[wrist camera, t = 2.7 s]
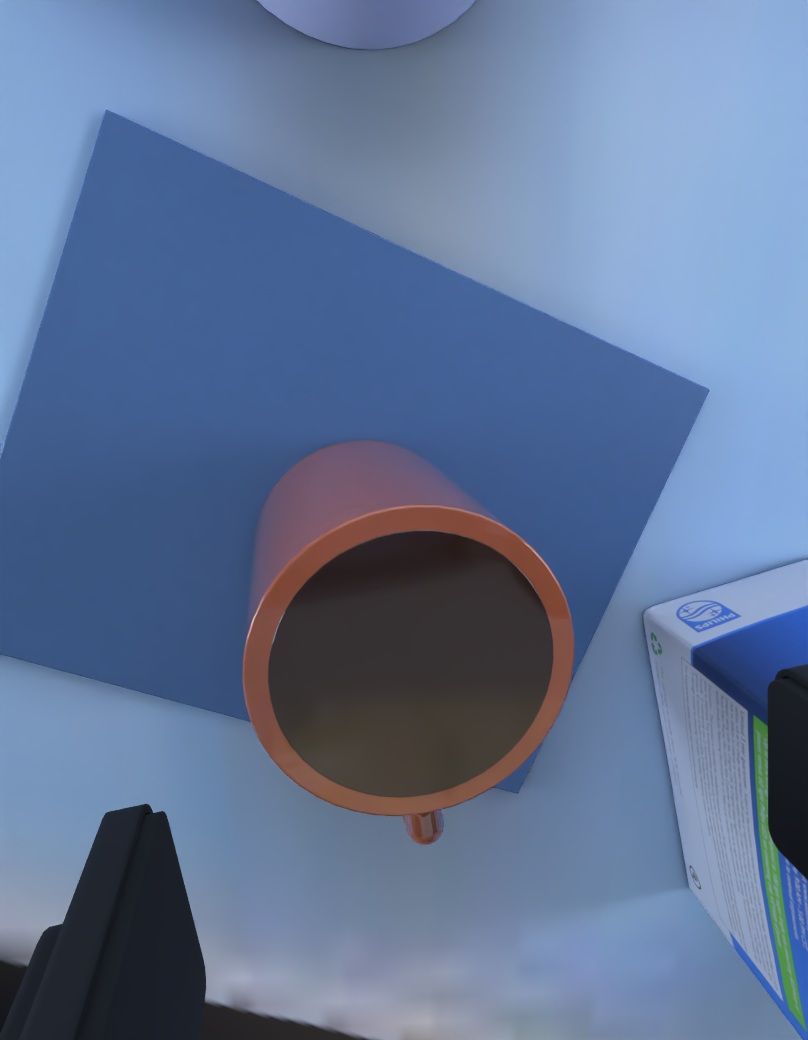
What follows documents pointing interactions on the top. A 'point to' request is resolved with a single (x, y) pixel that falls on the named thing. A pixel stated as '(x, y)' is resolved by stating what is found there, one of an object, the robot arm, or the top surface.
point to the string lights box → (735, 764)
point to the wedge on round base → (368, 19)
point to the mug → (398, 636)
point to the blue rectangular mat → (283, 416)
